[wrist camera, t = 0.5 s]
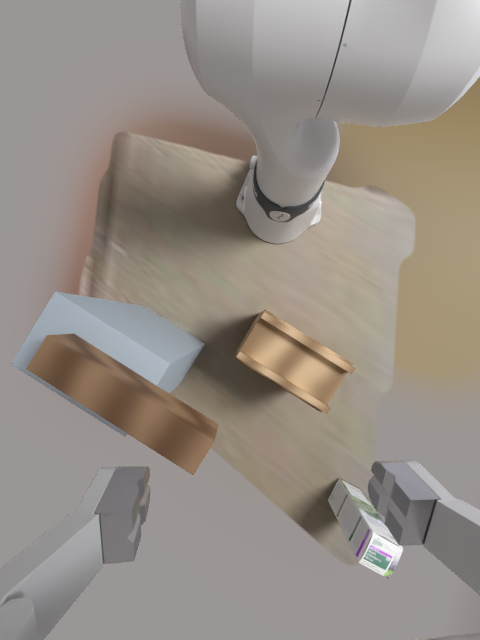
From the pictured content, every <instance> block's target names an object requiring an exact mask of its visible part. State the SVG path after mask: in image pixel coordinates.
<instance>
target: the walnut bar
mask: <svg viewBox="0 0 480 640" xmlns="http://www.w3.org/2000/svg"><path fill="white" fill-rule="evenodd" d="M26 369H27V370H28V371H30V372H32V373H33V374H35V375H36V376H38V377H39V378H41V379H43V380H44V381H46V382H47V383H49V384H50V385H52V386H54V387H55V388H57V389H58V390H60V391H61V392H63V393H65V394H66V395H68V396H69V397H71V398H72V399H74V400H76V401H77V402H79V403H80V404H82V405H83V406H85V407H87V408H88V409H90V410H91V411H93V412H94V413H96V414H98V415H99V416H101V417H102V418H104V419H105V420H107V421H109V422H110V423H112V424H113V425H115V426H116V427H118V428H120V429H121V430H123V431H124V432H126V433H127V434H129V435H131V436H132V437H134V438H135V439H137V440H138V441H140V442H142V443H143V444H145V445H146V446H148V447H150V448H151V449H153V450H154V451H156V452H157V453H159V454H161V455H162V456H164V457H165V458H167V459H169V460H170V461H171V462H173V463H175V464H176V465H178V466H179V467H181V468H183V469H184V470H186V471H187V472H189V473H190V474H192V475H194V473H195V471H196V470H197V468H198V467H199V465H200V464H201V462H202V460H203V459H204V457H205V455H206V454H207V452H208V450H209V449H210V447H211V446H212V444H213V443H214V441H215V437H216V432H217V428H218V424H217V423H215V422H214V421H212V420H210V419H209V418H207V417H206V416H204V415H202V414H201V413H199V412H198V411H196V410H195V409H193V408H191V407H190V406H188V405H187V404H185V403H183V402H182V401H180V400H179V399H177V398H175V397H174V396H172V395H171V394H169V393H168V392H166V391H164V390H163V389H161V388H160V387H158V386H156V385H155V384H153V383H152V382H150V381H149V380H147V379H145V378H144V377H142V376H141V375H139V374H137V373H136V372H134V371H133V370H131V369H130V368H128V367H126V366H125V365H123V364H122V363H120V362H118V361H117V360H115V359H114V358H112V357H111V356H109V355H107V354H106V353H104V352H103V351H101V350H99V349H98V348H96V347H95V346H93V345H91V344H90V343H88V342H87V341H85V340H84V339H82V338H80V337H79V336H77V335H76V334H59V335H47V336H46V337H45V339H44V341H43V342H42V344H41V345H40V347H39V349H38V350H37V352H36V354H35V355H34V357H33V358H32V360H31V362H30V363H29V365H28V366H27V368H26Z"/></svg>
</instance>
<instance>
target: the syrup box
mask: <svg viewBox="0 0 480 640" xmlns="http://www.w3.org/2000/svg"><path fill="white" fill-rule="evenodd" d="M328 502H329V504H330V506H331V508H332V510H333V512H334V514H335V516H336V518H337V520H338V522H339V524H340V526H341V528H342V530H343V533H344V535H345V537H346V539H347V541H348V543H349V545H350V547H351V549H352V551H353V553H354V555H355V557H356V559H357V561H358V563H360V564H362V565H364V566H366V567H368V568H370V569H372V570H373V571H375V572H377V573H379V574H381V575H383V576H385V577H386V578H389V577H390V576H391V574H392V572H393V571H394V569H395V567H396V565H397V563H398V561H399V559H400V556H401V553H402V551H403V548H402V546H401V545H398V543H397V542H396V540H395V539H394V537H393V536H392V534H391V533H390V531H389V529H388V528H387V526H386V525H385V522H384V521H383V520H382V519H381V517H380V516H379V514H378V513H377V511H376V510H375V509H374V507H373V506H372V504H371V503H370V502H369V500H368V499H367V498H366V496H365V495H364V493H363V492H362V491H361V490H360V489H358V488H356V487H355V486H353V485H351V484H349V483H347V482H345V481H343V480H341V479H338V481H337V483H336V485H335V486H334V488H333V490H332V492H331V494H330V496H329V498H328Z"/></svg>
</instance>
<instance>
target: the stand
mask: <svg viewBox="0 0 480 640" xmlns="http://www.w3.org/2000/svg"><path fill="white" fill-rule="evenodd" d="M59 334H76V335H77V336H79V337H80V338H82V339H84V340H85V341H87V342H88V343H90V344H91V345H93V346H95V347H96V348H98V349H99V350H101V351H103V352H104V353H106V354H107V355H109V356H111V357H112V358H114V359H115V360H117V361H118V362H120V363H122V364H123V365H125V366H126V367H128V368H130V369H131V370H133V371H134V372H136V373H137V374H139V375H141V376H142V377H144V378H145V379H147V380H149V381H150V382H152V383H153V384H155V385H156V386H158V387H160V388H161V389H163V390H164V391H166V392H168V393H169V394H170V393H171V392H172V391H173V390H174V389H175V388H176V387H177V386H178V385H179V384H180V383H181V382H182V380H183V379H184V377H185V375H186V374H187V372H188V371H189V369H190V367H191V366H192V364H193V363H194V361H195V359H196V358H197V356H198V355H199V353H200V351H201V350H202V348H203V346H204V345H205V344H204V343H203V342H201V341H200V340H198V339H196V338H195V337H193V336H192V335H190V334H188V333H187V332H185V331H184V330H182V329H180V328H179V327H177V326H176V325H174V324H172V323H171V322H169V321H168V320H166V319H164V318H163V317H161V316H160V315H158V314H156V313H155V312H153V311H152V310H150V309H148V308H147V307H145V306H141V305H135V304H129V303H123V302H116V301H110V300H104V299H98V298H92V297H85V296H79V295H73V294H66V293H61V292H55V293H54V295H53V297H52V298H51V300H50V301H49V303H48V304H47V306H46V308H45V309H44V311H43V312H42V314H41V316H40V317H39V319H38V321H37V322H36V324H35V325H34V327H33V329H32V330H31V332H30V333H29V335H28V337H27V338H26V340H25V341H24V343H23V345H22V346H21V348H20V350H19V351H18V353H17V354H16V356H15V358H14V359H13V361H12V363H11V364H12V365H13V366H15V367H16V368H18V369H20V370H21V371H23V372H24V373H26V374H27V375H29V376H31V377H32V378H34V379H35V380H37V381H38V382H40V383H42V384H43V385H45V386H46V387H48V388H50V389H51V390H53V391H54V392H56V393H57V394H59V395H61V396H62V397H64V398H65V399H67V400H68V401H70V402H72V403H73V404H75V405H76V406H78V407H79V408H81V409H83V410H84V411H86V412H87V413H89V414H90V415H92V416H94V417H95V418H97V419H98V420H100V421H101V422H103V423H105V424H106V425H108V426H109V427H111V428H112V429H114V430H115V431H117V432H119V433H120V434H122V435H123V436H126V435H127V433H126V432H124V431H123V430H121V429H120V428H118V427H116V426H115V425H113V424H112V423H110V422H109V421H107V420H105V419H104V418H102V417H101V416H99V415H98V414H96V413H94V412H93V411H91V410H90V409H88V408H87V407H85V406H83V405H82V404H80V403H79V402H77V401H76V400H74V399H72V398H71V397H69V396H68V395H66V394H65V393H63V392H61V391H60V390H58V389H57V388H55V387H54V386H52V385H50V384H49V383H47V382H46V381H44V380H43V379H41V378H39V377H38V376H36V375H35V374H33V373H32V372H30V371H28V370H27V369H26V368H27V366H28V365H29V363H30V362H31V360H32V358H33V357H34V355H35V354H36V352H37V350H38V349H39V347H40V345H41V344H42V342H43V341H44V339H45V337H46V336H47V335H59Z"/></svg>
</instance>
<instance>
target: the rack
mask: <svg viewBox="0 0 480 640" xmlns="http://www.w3.org/2000/svg"><path fill="white" fill-rule="evenodd" d="M235 359H236V360H238V361H240V362H241V363H243V364H244V365H246V366H248V367H249V368H251V369H252V370H254V371H256V372H257V373H259V374H260V375H262V376H264V377H265V378H267V379H268V380H270V381H272V382H273V383H275V384H276V385H278V386H280V387H281V388H283V389H284V390H286V391H288V392H289V393H291V394H292V395H294V396H296V397H297V398H299V399H300V400H302V401H304V402H305V403H307V404H308V405H310V406H312V407H313V408H315V409H316V410H318V411H320V412H321V413H322V412H325V413H326V414H327V413H328V412H329V410H330V407H329V406H328V405H327V404H328V403H329V401H330V400H331V398H332V396H333V395H334V393H335V392H336V390H337V388H338V387H339V385H340V383H341V382H342V380H343V379H344V377H345V375H346V374H347V372H348V373H350V374H352V373H353V371H354V370H355V368H354V367H352V363H350V362H349V361H347V360H345V359H344V358H342V357H341V356H339V355H337V354H336V353H334V352H333V351H331V350H329V349H328V348H326V347H324V346H323V345H321V344H320V343H318V342H316V341H315V340H313V339H312V338H310V337H308V336H307V335H305V334H303V333H302V332H300V331H299V330H297V329H295V328H294V327H292V326H291V325H289V324H287V323H286V322H284V321H282V320H281V319H279V318H278V317H276V316H274V315H273V314H271V313H270V312H268V311H266V310H264V311H262V312H260V313H259V314H258V316H257V317H256V319H255V320H254V322H253V324H252V325H251V327H250V328H249V330H248V332H247V333H246V335H245V336H244V338H243V340H242V341H241V343H240V345H239V346H238V348H237V352H236V356H235Z"/></svg>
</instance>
